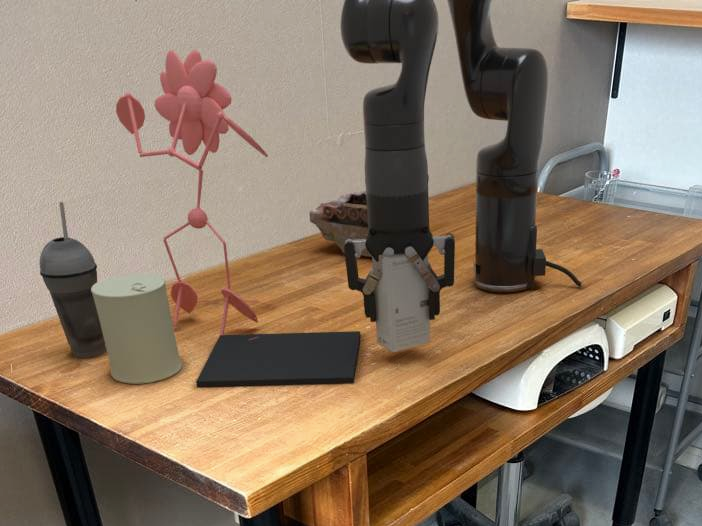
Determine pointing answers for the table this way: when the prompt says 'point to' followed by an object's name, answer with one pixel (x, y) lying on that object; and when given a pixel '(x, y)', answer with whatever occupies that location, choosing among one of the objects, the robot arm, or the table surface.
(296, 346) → the mat
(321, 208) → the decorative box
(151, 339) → the can
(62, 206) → the beverage cup
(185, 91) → the figurine
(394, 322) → the cosmetic box
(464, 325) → the table surface
